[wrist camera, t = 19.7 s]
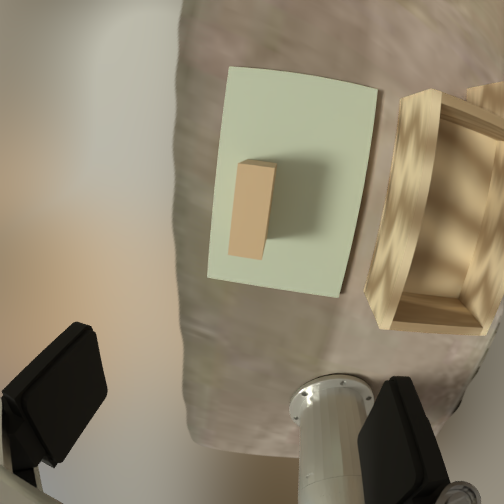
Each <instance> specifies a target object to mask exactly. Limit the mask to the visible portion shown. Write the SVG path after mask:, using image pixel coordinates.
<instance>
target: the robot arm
mask: <svg viewBox="0 0 504 504" xmlns="http://www.w3.org/2000/svg"><path fill="white" fill-rule="evenodd" d="M2 393H3V396H2V397H1V398H0V504H63V503H61V502H59V501H58V500H56V499H54V498H52V497H51V496H49V495H47V494H45V493H44V492H43V489H42V484H41V479H40V474H39V469H38V464H39V463H40V462H41V461H42V462H44V463H46V464H47V465H49V466H51V467H53V468H55V466H56V465H57V463H61V462H63V461H64V459H65V458H66V456H67V455H68V453H69V451H70V450H71V448H72V447H73V445H74V444H75V442H76V441H77V439H78V438H79V436H80V435H81V433H82V432H83V430H84V429H85V427H86V426H87V424H88V423H89V421H90V420H91V419H92V417H93V416H94V414H95V413H96V411H97V410H98V408H99V407H100V405H101V404H102V402H103V401H104V399H105V398H106V396H107V384H106V380H105V376H104V371H103V367H102V362H101V357H100V352H99V347H98V342H97V336H96V333H95V332H94V331H93V329H92V327H91V326H89V325H86V324H83V323H80V322H74V323H72V324H71V325H70V326H69V327H68V328H67V329H66V330H65V331H64V332H63V333H61V334H60V335H59V336H58V337H57V338H56V339H55V340H54V341H53V342H52V343H51V344H50V345H49V346H47V348H45V349H44V350H43V351H42V352H41V353H40V354H39V355H38V356H37V357H36V358H35V359H34V360H33V361H32V362H31V363H30V364H29V365H28V366H26V367H25V368H24V369H23V370H22V371H21V372H20V373H19V374H18V375H17V376H16V377H15V378H14V379H13V380H12V381H11V382H10V383H9V384H8V385H7V386H6V387H5V388H4V389H3V390H2ZM289 413H290V416H291V418H292V420H293V421H294V423H296V424H297V425H298V426H299V427H300V451H299V489H298V504H481V497H480V494H479V492H478V490H477V489H476V488H475V487H474V486H473V485H472V484H470V483H468V482H465V481H455V482H452V483H450V480H449V477H448V474H447V471H446V467H445V464H444V461H443V459H442V456H441V453H440V450H439V447H438V444H437V441H436V438H435V436H434V433H433V430H432V427H431V425H430V422H429V420H428V418H427V417H426V415H425V412H424V410H423V407H422V405H421V402H420V400H419V397H418V395H417V392H416V390H415V387H414V385H413V382H412V380H411V378H410V377H403V376H393V377H391V378H390V380H389V381H385V382H384V384H383V386H382V388H381V391H380V393H379V395H378V397H377V399H376V401H375V403H374V395H373V392H372V389H371V388H370V386H369V385H368V384H367V383H366V382H365V381H363V380H361V379H359V378H357V377H354V376H350V375H329V376H324V377H320V378H317V379H314V380H312V381H310V382H308V383H306V384H304V385H303V386H301V387H300V388H299V389H298V390H297V391H296V392H295V393H294V395H293V396H292V398H291V400H290V405H289ZM367 416H368V417H367Z"/></svg>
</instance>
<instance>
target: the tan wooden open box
mask: <svg viewBox="0 0 504 504" xmlns="http://www.w3.org/2000/svg"><path fill="white" fill-rule="evenodd" d="M364 293H365V296H366V298H367V300H368V302H369V305H370V307H371V309H372V312H373V314H374V316H375V319H376V321H377V323H378V326H379V328H380V329H386V330H397V331H410V332H423V333H438V334H456V335H478V336H486V334H487V332H488V330H489V327H490V325H491V323H492V321H493V319H494V316H495V314H496V312H497V309H498V307H499V304H500V302H501V300H502V297H503V294H504V81H503V82H498V83H493V84H487V85H482V86H478V87H473V88H468V89H467V101H464V100H461V99H459V98H456V97H454V96H451V95H448V94H446V93H443V92H440V91H438V90H435V89H428V90H425V91H422V92H419V93H416V94H413V95H410V96H407V97H404V98H401V99H400V107H399V116H398V124H397V132H396V140H395V147H394V153H393V160H392V166H391V172H390V178H389V183H388V189H387V194H386V199H385V204H384V209H383V214H382V219H381V223H380V228H379V232H378V237H377V241H376V245H375V249H374V253H373V257H372V261H371V265H370V269H369V273H368V277H367V280H366V284H365V287H364Z"/></svg>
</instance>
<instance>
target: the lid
mask: <svg viewBox="0 0 504 504" xmlns="http://www.w3.org/2000/svg"><path fill="white" fill-rule="evenodd" d="M377 92H378V89H374V88H370V87H366V86H362V85H358V84H353V83H349V82H344V81H339V80H334V79H329V78H323V77H318V76H312V75H305V74H299V73H292V72H284V71H276V70H267V69H257V68H245V67H229V72H228V79H227V86H226V94H225V101H224V109H223V117H222V125H221V134H220V143H219V151H218V161H217V170H216V180H215V190H214V200H213V211H212V222H211V234H210V246H209V259H208V273H207V277H208V278H214V279H220V280H226V281H232V282H238V283H244V284H250V285H256V286H262V287H269V288H275V289H282V290H288V291H295V292H302V293H308V294H315V295H322V296H329V297H336V298H338V297H339V294H340V290H341V286H342V282H343V278H344V274H345V270H346V266H347V262H348V258H349V254H350V250H351V245H352V241H353V236H354V232H355V227H356V223H357V218H358V213H359V208H360V203H361V198H362V193H363V187H364V182H365V176H366V171H367V165H368V159H369V152H370V146H371V139H372V132H373V125H374V118H375V110H376V101H377Z"/></svg>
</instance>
